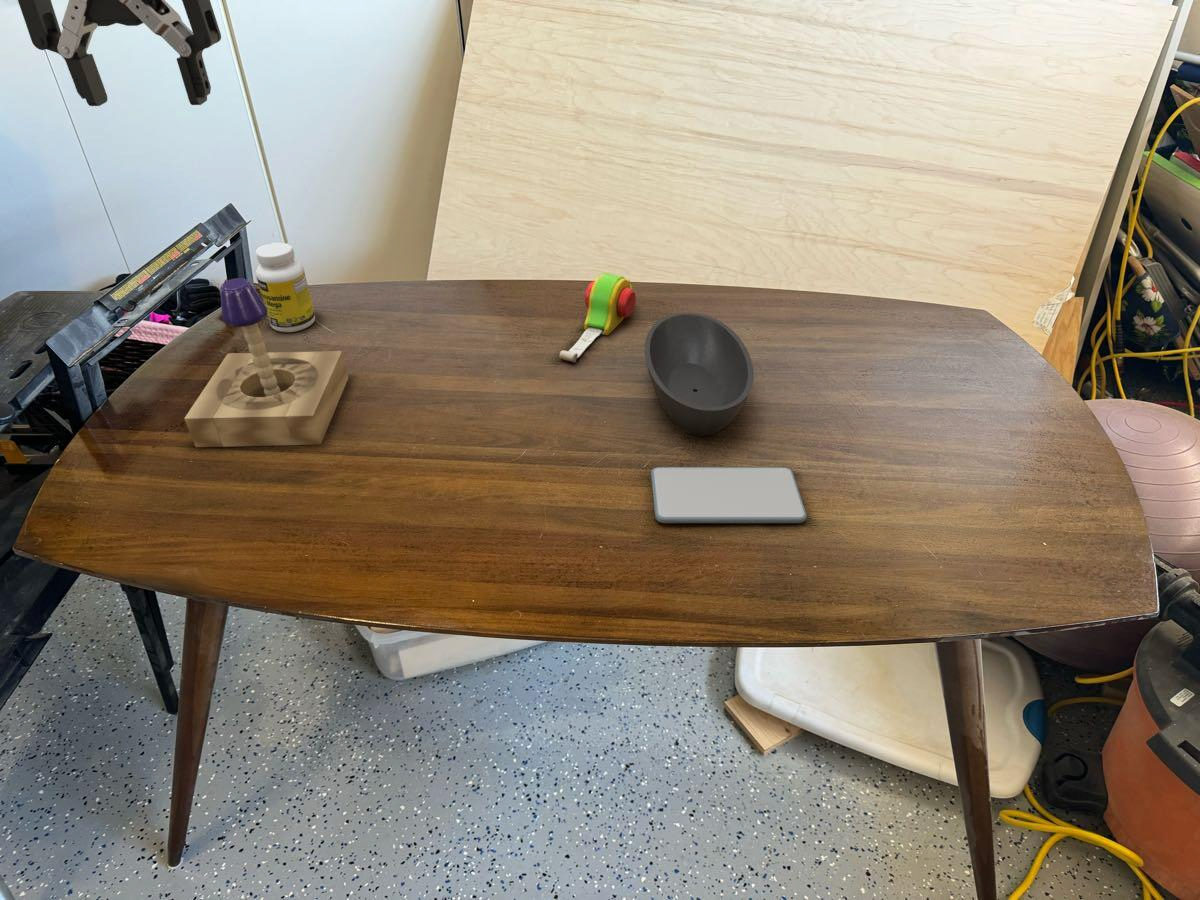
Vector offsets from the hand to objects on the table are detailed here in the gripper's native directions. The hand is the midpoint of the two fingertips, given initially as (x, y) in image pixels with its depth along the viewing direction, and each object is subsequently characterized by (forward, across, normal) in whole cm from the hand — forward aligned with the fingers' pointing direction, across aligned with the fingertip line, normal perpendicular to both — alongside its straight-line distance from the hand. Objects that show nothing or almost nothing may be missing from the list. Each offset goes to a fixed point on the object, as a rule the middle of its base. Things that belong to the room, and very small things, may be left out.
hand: (149, 103), depth 68 cm
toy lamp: (+36, 0, +6) cm, 37 cm away
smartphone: (+36, +51, -12) cm, 64 cm away
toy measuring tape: (+36, +39, +24) cm, 58 cm away
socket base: (+36, 0, +6) cm, 37 cm away
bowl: (+36, +50, +6) cm, 62 cm away
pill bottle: (+36, -4, +28) cm, 46 cm away
